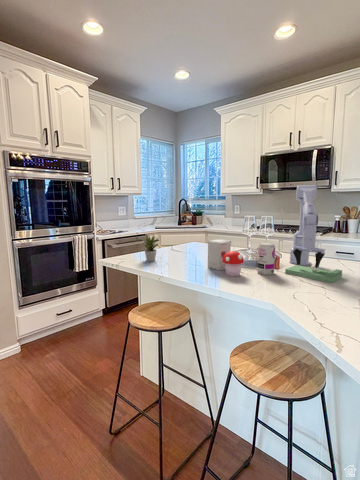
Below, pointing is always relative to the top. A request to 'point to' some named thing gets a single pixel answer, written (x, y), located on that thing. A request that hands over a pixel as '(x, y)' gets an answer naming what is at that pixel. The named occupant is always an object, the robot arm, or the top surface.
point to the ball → (314, 268)
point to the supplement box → (217, 253)
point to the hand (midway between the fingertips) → (307, 266)
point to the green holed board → (315, 273)
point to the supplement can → (266, 258)
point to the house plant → (150, 248)
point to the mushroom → (233, 263)
